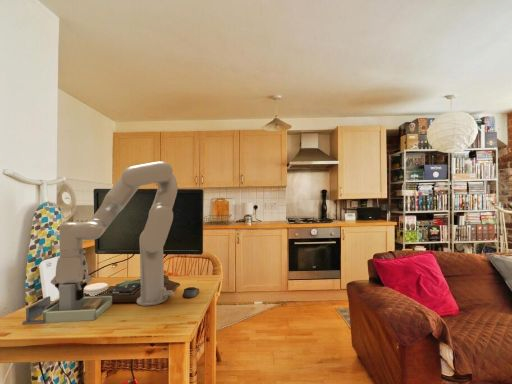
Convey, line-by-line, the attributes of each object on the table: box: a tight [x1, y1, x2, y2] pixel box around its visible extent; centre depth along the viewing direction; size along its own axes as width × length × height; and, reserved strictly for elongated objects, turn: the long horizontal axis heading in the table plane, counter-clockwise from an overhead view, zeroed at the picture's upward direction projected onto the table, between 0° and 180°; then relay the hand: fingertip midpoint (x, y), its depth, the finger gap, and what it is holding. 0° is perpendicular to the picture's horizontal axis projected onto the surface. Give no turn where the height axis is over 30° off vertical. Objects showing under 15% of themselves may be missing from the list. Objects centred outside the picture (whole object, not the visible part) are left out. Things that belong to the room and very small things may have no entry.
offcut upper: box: [82, 298, 102, 310], centre depth 109 cm, size 4×7×2 cm, turn 8°
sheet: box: [58, 283, 84, 311], centre depth 108 cm, size 4×9×12 cm, turn 5°
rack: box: [42, 295, 113, 324], centre depth 109 cm, size 18×15×4 cm
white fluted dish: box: [84, 282, 109, 297], centre depth 132 cm, size 10×10×4 cm
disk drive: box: [109, 280, 140, 294], centre depth 135 cm, size 10×3×15 cm
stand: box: [21, 295, 59, 325], centre depth 108 cm, size 7×16×5 cm, turn 5°
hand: (71, 299), depth 108 cm, fingers open, 5 cm apart
